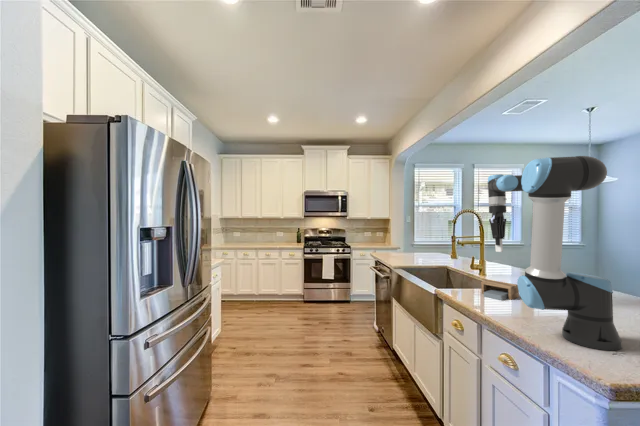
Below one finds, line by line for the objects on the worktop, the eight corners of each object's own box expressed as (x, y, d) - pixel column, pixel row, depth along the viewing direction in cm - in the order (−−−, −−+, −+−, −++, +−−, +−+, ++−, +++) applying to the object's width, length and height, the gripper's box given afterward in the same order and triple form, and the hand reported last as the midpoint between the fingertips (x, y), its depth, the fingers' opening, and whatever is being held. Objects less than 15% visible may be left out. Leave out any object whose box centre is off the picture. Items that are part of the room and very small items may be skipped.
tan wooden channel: (511, 299, 149) (510, 287, 149) (481, 293, 162) (481, 281, 162) (518, 297, 153) (518, 284, 153) (489, 291, 166) (489, 279, 166)
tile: (501, 301, 148) (501, 295, 148) (483, 297, 155) (483, 292, 155) (512, 297, 154) (512, 292, 154) (495, 293, 162) (495, 288, 162)
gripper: (498, 204, 138) (500, 253, 138) (511, 205, 145) (513, 251, 145) (483, 205, 145) (484, 252, 144) (496, 206, 152) (497, 250, 151)
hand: (499, 251), depth 144 cm, fingers closed
